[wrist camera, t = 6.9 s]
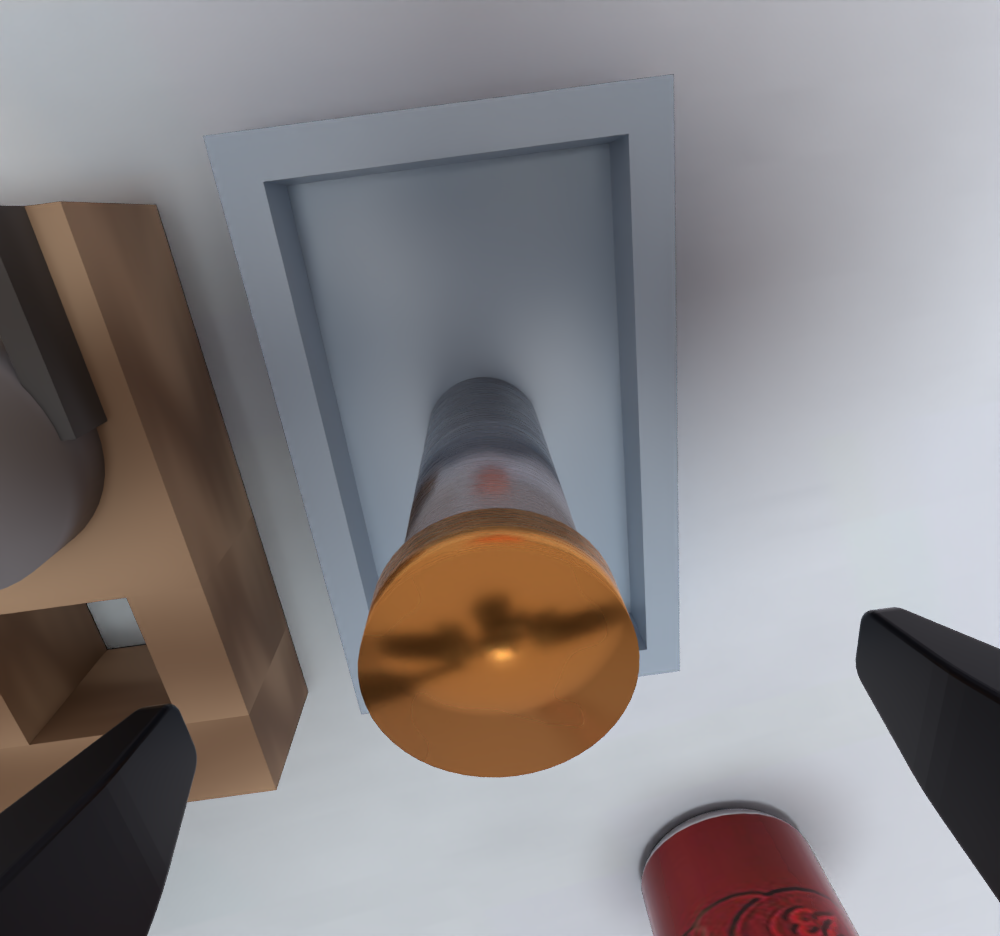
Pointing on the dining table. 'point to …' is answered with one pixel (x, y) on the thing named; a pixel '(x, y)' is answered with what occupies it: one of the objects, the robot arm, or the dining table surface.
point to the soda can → (739, 880)
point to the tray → (471, 315)
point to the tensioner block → (125, 513)
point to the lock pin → (494, 604)
